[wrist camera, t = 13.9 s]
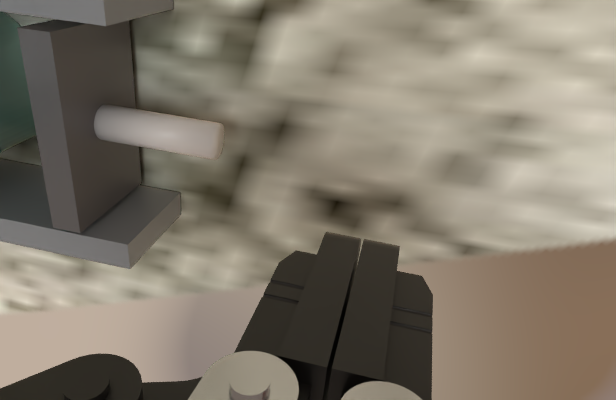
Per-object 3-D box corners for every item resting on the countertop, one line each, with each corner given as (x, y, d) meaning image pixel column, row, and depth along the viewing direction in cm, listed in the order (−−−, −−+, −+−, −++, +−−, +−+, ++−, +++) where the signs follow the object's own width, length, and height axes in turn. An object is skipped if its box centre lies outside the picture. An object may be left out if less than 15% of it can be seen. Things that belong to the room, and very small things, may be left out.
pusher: (118, 178, 20) (53, 227, 17) (101, 10, 17) (16, 27, 14) (236, 200, 19) (194, 256, 16) (241, 28, 16) (189, 52, 13)
